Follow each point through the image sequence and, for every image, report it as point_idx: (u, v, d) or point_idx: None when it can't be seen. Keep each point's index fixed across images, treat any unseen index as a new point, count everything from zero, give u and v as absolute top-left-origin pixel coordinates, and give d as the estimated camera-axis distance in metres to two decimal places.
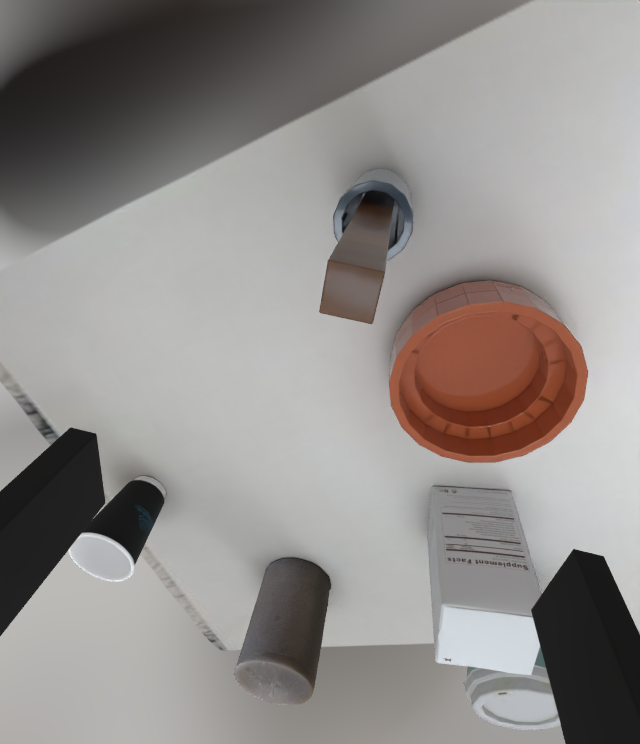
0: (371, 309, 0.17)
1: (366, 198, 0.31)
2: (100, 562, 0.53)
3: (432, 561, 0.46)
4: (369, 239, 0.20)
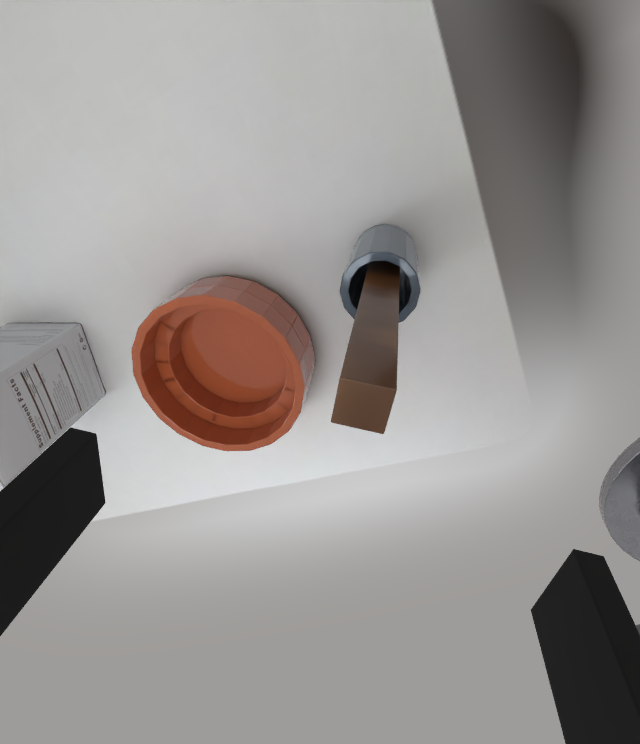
0: (346, 422, 0.18)
1: None
2: None
3: None
4: None
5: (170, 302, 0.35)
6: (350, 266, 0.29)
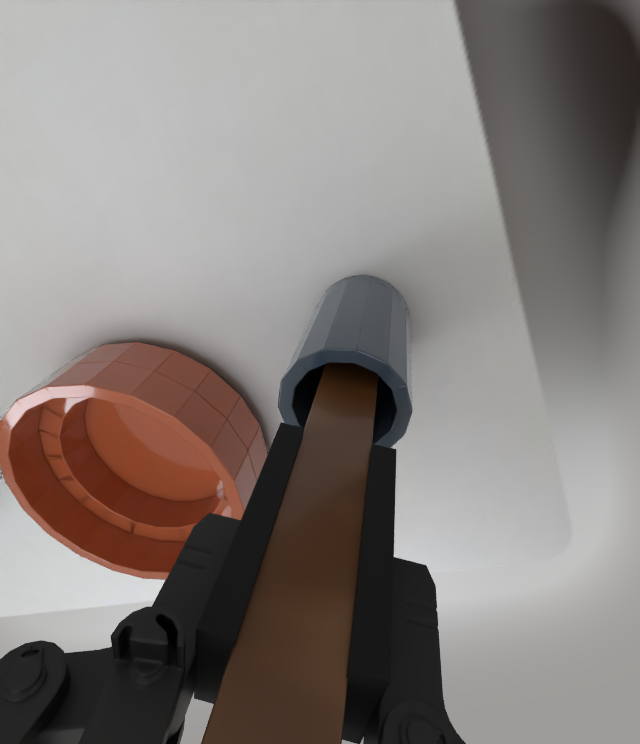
0: None
1: None
2: None
3: None
4: None
5: (37, 392, 0.24)
6: (292, 368, 0.17)
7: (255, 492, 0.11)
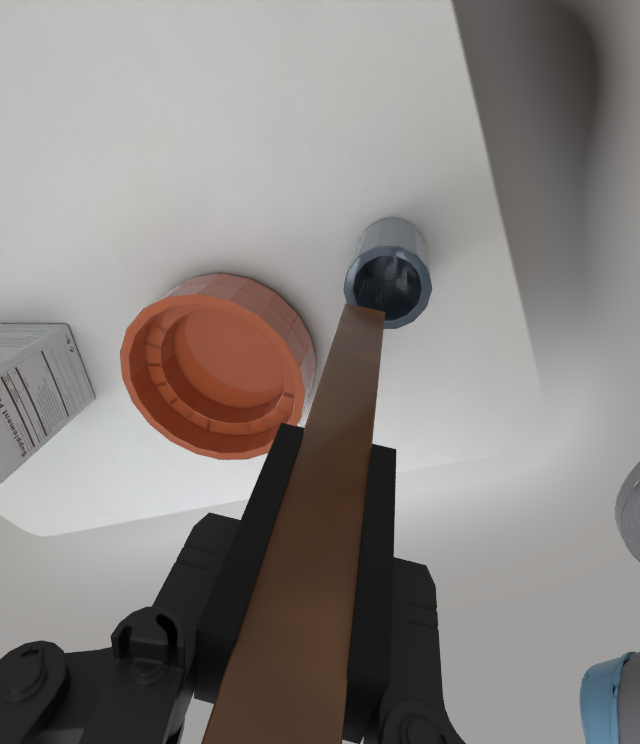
0: None
1: None
2: None
3: None
4: None
5: (160, 301, 0.33)
6: (355, 262, 0.26)
7: (255, 492, 0.11)
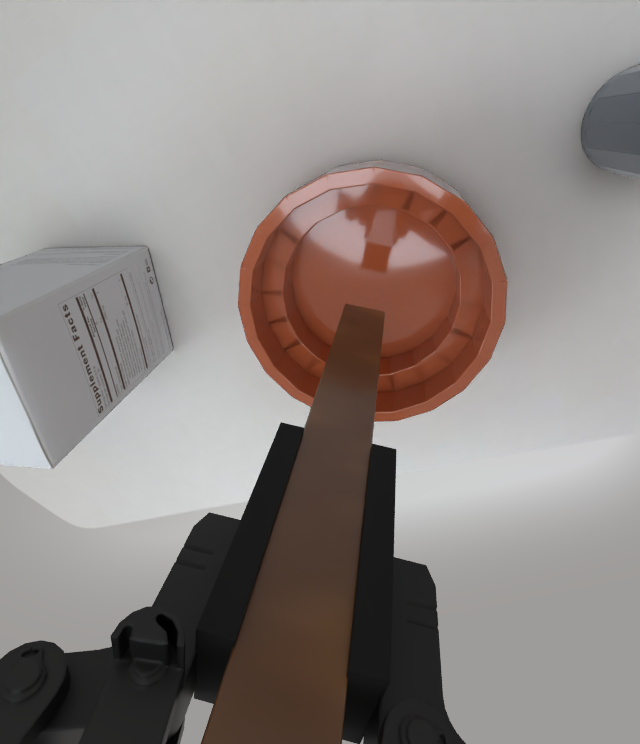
0: None
1: None
2: None
3: (31, 274, 0.27)
4: None
5: (315, 182, 0.23)
6: None
7: (255, 492, 0.11)
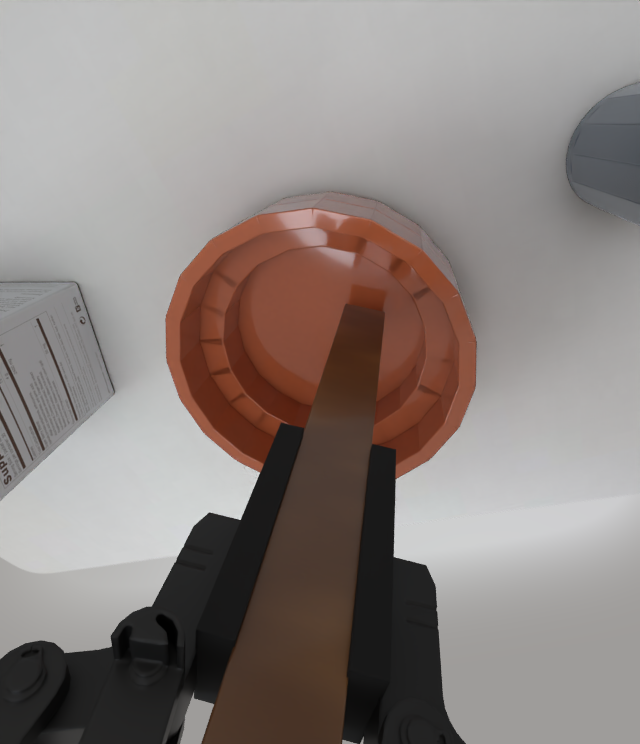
0: None
1: None
2: None
3: None
4: None
5: (244, 224, 0.19)
6: None
7: (255, 492, 0.11)
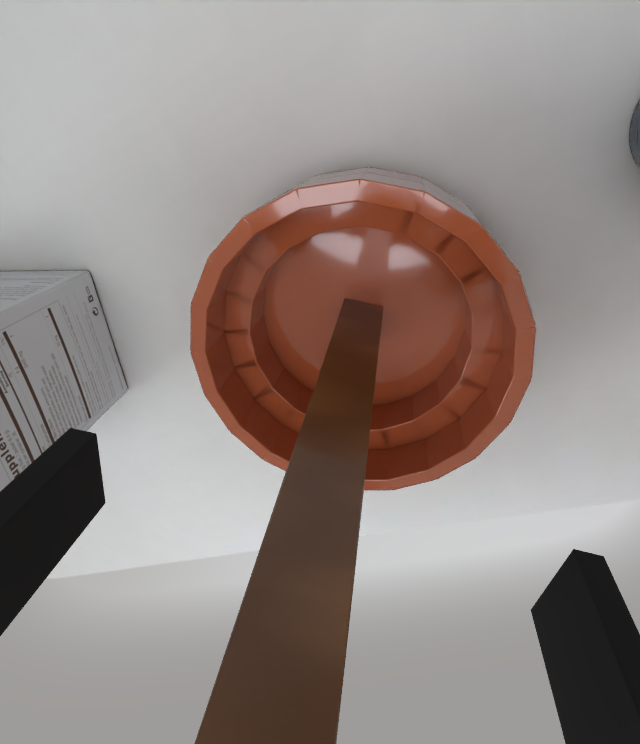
0: None
1: None
2: None
3: None
4: None
5: (281, 199, 0.17)
6: None
7: None
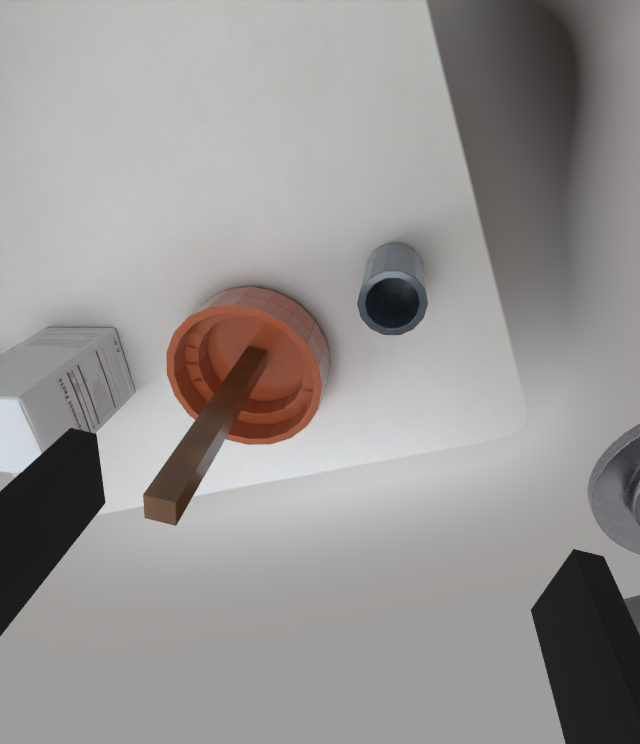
0: (153, 518, 0.29)
1: (251, 378, 0.42)
2: None
3: (39, 355, 0.44)
4: (203, 468, 0.32)
5: (204, 311, 0.40)
6: (367, 282, 0.33)
7: None
